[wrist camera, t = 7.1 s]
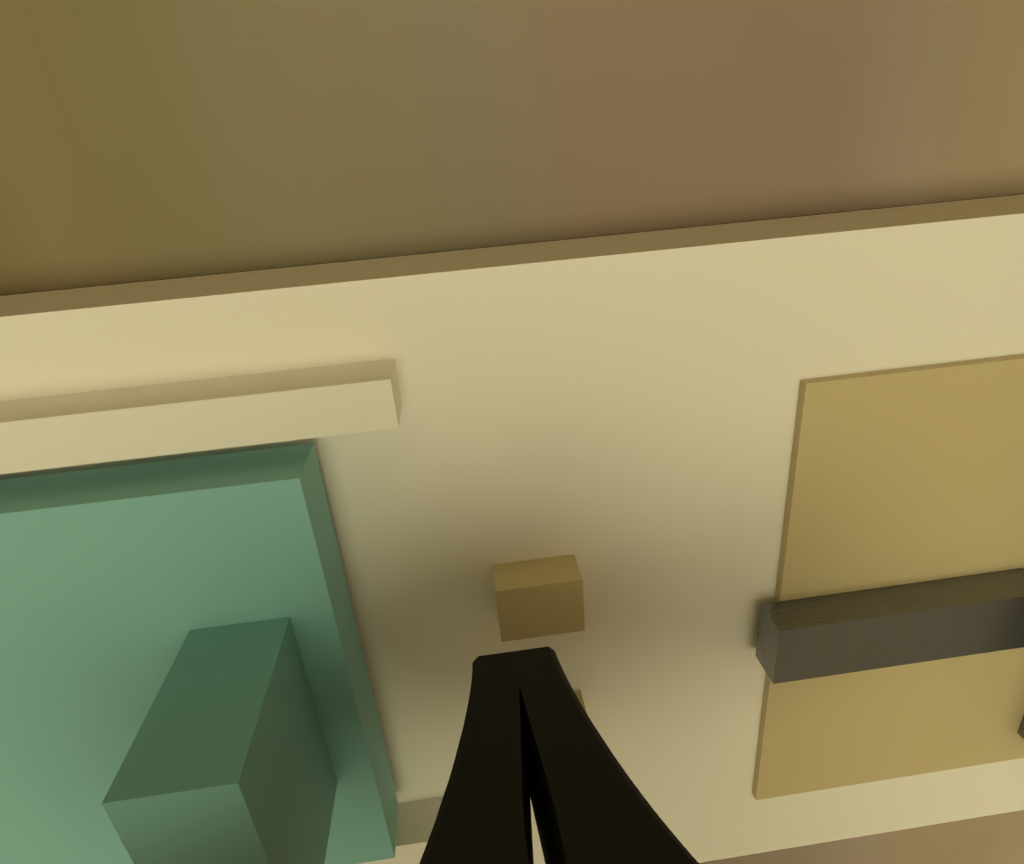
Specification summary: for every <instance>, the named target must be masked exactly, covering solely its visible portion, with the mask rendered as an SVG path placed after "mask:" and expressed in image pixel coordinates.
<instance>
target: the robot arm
mask: <svg viewBox="0 0 1024 864" xmlns="http://www.w3.org/2000/svg"><path fill="white" fill-rule="evenodd" d="M530 798H531V803H532V807H533V812H534V816H535V821H536V825H537V829H538V834H539V838H540V843H541V847H542V852H543V856H544V860H545V864H699V863H698V862H697V861H696V859H695V858H694V857H693V856H692V855H691V854H690V853H689V852H688V850H687V849H686V848H685V847H684V846H683V844H682V843H681V842H680V841H679V840H678V839H677V837H676V836H675V835H674V834H673V833H672V831H671V830H670V829H669V828H668V827H667V825H666V824H665V823H664V822H663V821H662V819H661V818H660V817H659V816H658V814H657V813H656V812H655V811H654V809H653V808H652V807H651V805H650V804H649V803H648V802H647V800H646V799H645V798H644V796H643V795H642V794H641V792H640V791H639V790H638V788H637V787H636V786H635V784H634V783H633V782H632V780H631V779H630V777H629V776H628V775H627V773H626V772H625V771H624V769H623V768H622V766H621V765H620V764H619V762H618V761H617V759H616V758H615V756H614V755H613V753H612V752H611V750H610V749H609V747H608V746H607V744H606V743H605V741H604V740H603V738H602V737H601V735H600V734H599V732H598V731H597V729H596V728H595V726H594V724H593V723H592V721H591V720H590V718H589V716H588V715H587V713H586V711H585V710H584V708H583V706H582V705H581V703H580V701H579V699H578V698H577V696H576V694H575V692H574V691H573V689H572V687H571V685H570V683H569V681H568V679H567V677H566V675H565V673H564V671H563V669H562V667H561V665H560V662H559V660H558V658H557V655H556V652H555V651H554V650H553V649H551V648H550V647H549V646H548V647H541V648H533V649H526V650H519V651H512V652H504V653H497V654H490V655H483V656H478V657H477V658H476V659H475V660H474V661H473V664H472V681H471V689H470V695H469V701H468V707H467V711H466V716H465V721H464V726H463V730H462V733H461V737H460V741H459V745H458V749H457V752H456V756H455V760H454V764H453V767H452V771H451V774H450V778H449V781H448V784H447V787H446V790H445V793H444V796H443V799H442V802H441V805H440V808H439V811H438V814H437V817H436V820H435V823H434V826H433V829H432V831H431V834H430V837H429V839H428V842H427V845H426V848H425V850H424V853H423V855H422V858H421V860H420V863H419V864H534V861H533V841H532V822H531V803H530Z"/></svg>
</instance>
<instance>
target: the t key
mask: <svg viewBox="0 0 1024 864" xmlns="http://www.w3.org/2000/svg"><path fill="white" fill-rule="evenodd" d="M1022 647H1024V568H1017V569H1010V570H1003V571H995V572H988V573H981V574H974V575H966V576H959V577H952V578H945V579H938V580H930V581H923V582H916V583H909V584H901V585H894V586H887V587H880V588H873V589H865V590H858V591H851V592H844V593H836V594H829V595H822V596H815V597H808V598H800V599H793V600H786V601H779V602H771V603H764V604H761V606H760V616H759V625H758V635H757V644H756V654H755V656H756V657H757V659H758V661H759V662H760V664H761V665H762V667H763V669H764V670H765V672H766V674H767V675H768V677H769V678H770V680H771V682H772V683H773V684H777V683H783V682H790V681H797V680H804V679H811V678H817V677H824V676H831V675H838V674H845V673H852V672H858V671H865V670H872V669H879V668H886V667H892V666H899V665H906V664H913V663H920V662H926V661H933V660H940V659H947V658H954V657H961V656H967V655H974V654H981V653H988V652H995V651H1001V650H1008V649H1015V648H1022ZM1017 733H1018V734H1019V735H1020V736H1021V737H1022V738H1023V739H1024V715H1023V717H1022V720H1021V723H1020V726H1019V729H1018V731H1017Z"/></svg>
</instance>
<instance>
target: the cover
mask: <svg viewBox="0 0 1024 864" xmlns="http://www.w3.org/2000/svg"><path fill="white" fill-rule="evenodd" d="M397 814H398V801H397V797H396V792H395V788H394V784H393V779H392V775H391V771H390V767H389V762H388V758H387V754H386V750H385V745H384V741H383V737H382V733H381V728H380V724H379V720H378V715H377V711H376V707H375V703H374V698H373V694H372V690H371V686H370V681H369V677H368V673H367V669H366V664H365V660H364V656H363V651H362V647H361V643H360V639H359V634H358V630H357V626H356V622H355V617H354V613H353V609H352V605H351V600H350V596H349V592H348V587H347V583H346V579H345V575H344V570H343V566H342V562H341V558H340V553H339V549H338V545H337V541H336V536H335V532H334V528H333V524H332V519H331V515H330V511H329V506H328V502H327V498H326V494H325V489H324V485H323V481H322V477H321V472H320V468H319V464H318V460H317V455H316V451H315V447H314V443H313V444H304V445H296V446H287V447H279V448H270V449H261V450H253V451H244V452H236V453H227V454H219V455H210V456H201V457H193V458H184V459H176V460H167V461H159V462H150V463H142V464H133V465H124V466H116V467H107V468H99V469H90V470H82V471H73V472H64V473H56V474H47V475H39V476H30V477H22V478H13V479H4V480H0V864H359V863H365V862H371V861H378V860H384V859H390V858H395V848H396V831H397Z"/></svg>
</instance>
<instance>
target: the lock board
mask: <svg viewBox="0 0 1024 864" xmlns="http://www.w3.org/2000/svg"><path fill="white" fill-rule="evenodd" d="M313 443H314V447H315V451H316V455H317V460H318V464H319V468H320V472H321V477H322V481H323V485H324V489H325V494H326V498H327V502H328V506H329V511H330V515H331V519H332V524H333V528H334V532H335V536H336V541H337V545H338V549H339V553H340V558H341V562H342V566H343V570H344V575H345V579H346V583H347V587H348V592H349V596H350V600H351V605H352V609H353V613H354V617H355V622H356V626H357V630H358V634H359V639H360V643H361V647H362V651H363V656H364V660H365V664H366V669H367V673H368V677H369V681H370V686H371V690H372V694H373V698H374V703H375V707H376V711H377V715H378V720H379V724H380V728H381V733H382V737H383V741H384V745H385V750H386V754H387V758H388V762H389V767H390V771H391V775H392V779H393V784H394V788H395V792H396V797H397V801H398V814H397V831H396V848H395V858H390V859H384V860H378V861H371V862H365V863H359V864H419V863H420V860H421V858H422V855H423V853H424V850H425V848H426V845H427V842H428V839H429V837H430V834H431V831H432V829H433V826H434V823H435V820H436V817H437V814H438V811H439V808H440V805H441V802H442V799H443V796H444V793H445V790H446V787H447V784H448V781H449V778H450V774H451V771H452V767H453V764H454V760H455V756H456V752H457V749H458V745H459V741H460V737H461V733H462V730H463V726H464V721H465V716H466V711H467V707H468V701H469V695H470V689H471V681H472V664H473V661H474V660H475V659H476V658H477V657H478V656H483V655H490V654H497V653H504V652H512V651H519V650H526V649H533V648H541V647H548V646H549V647H550V648H551V649H553V650H554V651H555V652H556V655H557V658H558V660H559V662H560V665H561V667H562V669H563V671H564V673H565V675H566V677H567V679H568V681H569V683H570V685H571V687H572V689H573V691H574V692H575V694H576V696H577V698H578V699H579V701H580V703H581V705H582V706H583V708H584V710H585V711H586V713H587V715H588V716H589V718H590V720H591V721H592V723H593V724H594V726H595V728H596V729H597V731H598V732H599V734H600V735H601V737H602V738H603V740H604V741H605V743H606V744H607V746H608V747H609V749H610V750H611V752H612V753H613V755H614V756H615V758H616V759H617V761H618V762H619V764H620V765H621V766H622V768H623V769H624V771H625V772H626V773H627V775H628V776H629V777H630V779H631V780H632V782H633V783H634V784H635V786H636V787H637V788H638V790H639V791H640V792H641V794H642V795H643V796H644V798H645V799H646V800H647V802H648V803H649V804H650V805H651V807H652V808H653V809H654V811H655V812H656V813H657V814H658V816H659V817H660V818H661V819H662V821H663V822H664V823H665V824H666V825H667V827H668V828H669V829H670V830H671V831H672V833H673V834H674V835H675V836H676V837H677V839H678V840H679V841H680V842H681V843H682V844H683V846H684V847H685V848H686V849H687V850H688V852H689V853H690V854H691V855H692V856H693V857H694V858H695V859H696V861H697V862H698V863H702V862H708V861H714V860H720V859H726V858H732V857H738V856H744V855H750V854H757V853H763V852H769V851H775V850H781V849H787V848H793V847H799V846H805V845H811V844H818V843H824V842H830V841H836V840H842V839H848V838H854V837H860V836H866V835H872V834H879V833H885V832H891V831H897V830H903V829H909V828H915V827H921V826H927V825H934V824H940V823H946V822H952V821H958V820H964V819H970V818H976V817H982V816H988V815H995V814H1001V813H1007V812H1013V811H1019V810H1024V739H1023V738H1022V737H1021V736H1020V735H1019V734H1018V733H1017V731H1018V729H1019V726H1020V723H1021V720H1022V717H1023V715H1024V647H1022V648H1015V649H1008V650H1001V651H995V652H988V653H981V654H974V655H967V656H961V657H954V658H947V659H940V660H933V661H926V662H920V663H913V664H906V665H899V666H892V667H886V668H879V669H872V670H865V671H858V672H852V673H845V674H838V675H831V676H824V677H817V678H811V679H804V680H797V681H790V682H783V683H777V684H773V683H772V682H771V680H770V678H769V677H768V675H767V674H766V672H765V670H764V669H763V667H762V665H761V664H760V662H759V661H758V659H757V657H756V656H755V654H756V644H757V635H758V625H759V616H760V606H761V604H764V603H771V602H779V601H786V600H793V599H800V598H808V597H815V596H822V595H829V594H836V593H844V592H851V591H858V590H865V589H873V588H880V587H887V586H894V585H901V584H909V583H916V582H923V581H930V580H938V579H945V578H952V577H959V576H966V575H974V574H981V573H988V572H995V571H1003V570H1010V569H1017V568H1024V194H1022V195H1012V196H1002V197H992V198H982V199H972V200H961V201H951V202H941V203H931V204H921V205H911V206H901V207H891V208H881V209H871V210H861V211H851V212H841V213H831V214H820V215H810V216H800V217H790V218H780V219H770V220H760V221H750V222H740V223H730V224H720V225H710V226H700V227H689V228H679V229H669V230H659V231H649V232H639V233H629V234H619V235H609V236H599V237H589V238H579V239H569V240H559V241H548V242H538V243H528V244H518V245H508V246H498V247H488V248H478V249H468V250H458V251H448V252H438V253H428V254H417V255H407V256H397V257H387V258H377V259H367V260H357V261H347V262H337V263H327V264H317V265H307V266H297V267H286V268H276V269H266V270H256V271H246V272H236V273H226V274H216V275H206V276H196V277H186V278H176V279H166V280H156V281H145V282H135V283H125V284H115V285H105V286H95V287H85V288H75V289H65V290H55V291H45V292H35V293H25V294H14V295H4V296H0V480H4V479H13V478H22V477H30V476H39V475H47V474H56V473H64V472H73V471H82V470H90V469H99V468H107V467H116V466H124V465H133V464H142V463H150V462H159V461H167V460H176V459H184V458H193V457H201V456H210V455H219V454H227V453H236V452H244V451H253V450H261V449H270V448H279V447H287V446H296V445H304V444H313ZM530 803H531V798H530ZM531 822H532V841H533V861H534V864H545V860H544V856H543V852H542V847H541V843H540V838H539V834H538V829H537V825H536V821H535V816H534V812H533V807H532V803H531Z"/></svg>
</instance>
